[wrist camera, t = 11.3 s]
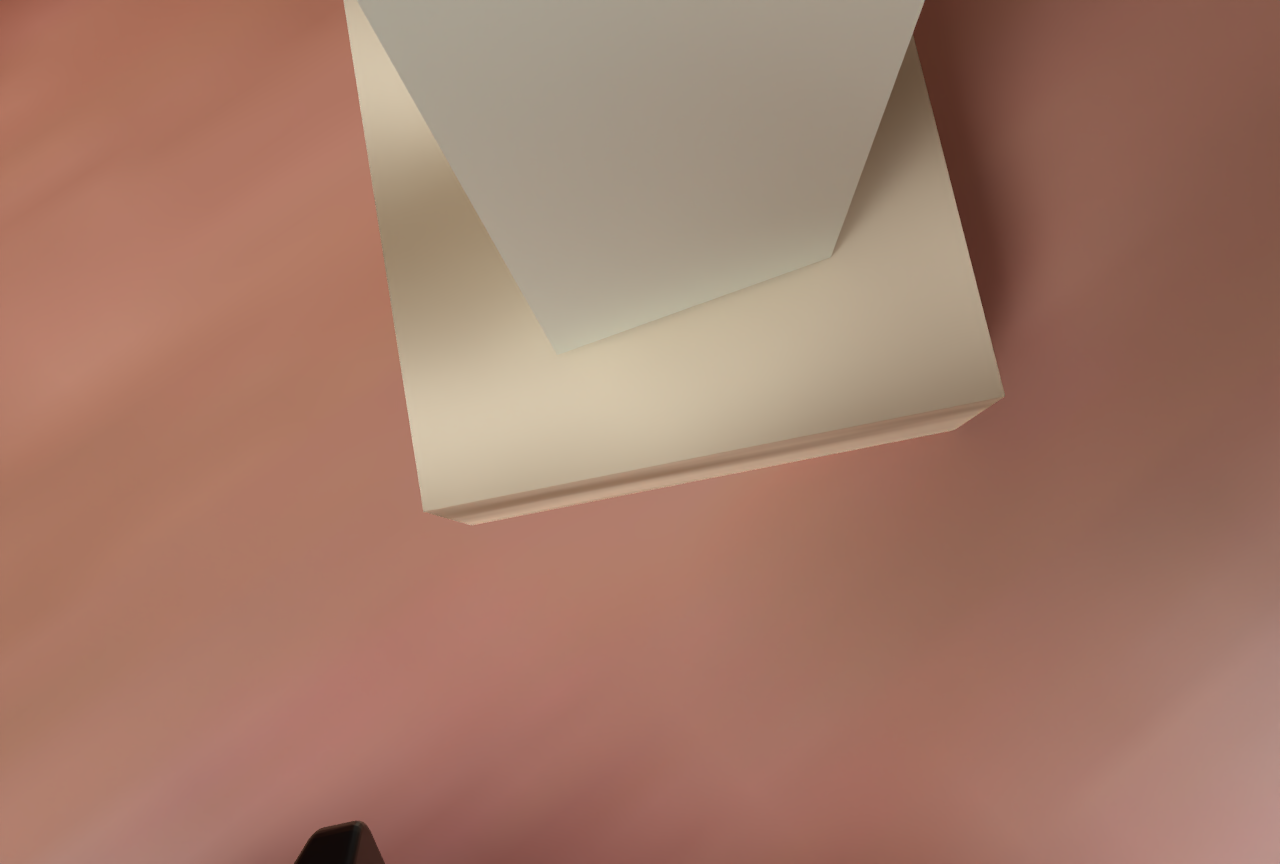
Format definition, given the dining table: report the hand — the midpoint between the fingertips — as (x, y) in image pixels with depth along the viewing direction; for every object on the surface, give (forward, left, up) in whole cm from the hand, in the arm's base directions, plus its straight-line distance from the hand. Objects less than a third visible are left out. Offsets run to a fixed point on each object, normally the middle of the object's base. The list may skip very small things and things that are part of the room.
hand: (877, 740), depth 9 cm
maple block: (+8, -3, -12) cm, 15 cm away
